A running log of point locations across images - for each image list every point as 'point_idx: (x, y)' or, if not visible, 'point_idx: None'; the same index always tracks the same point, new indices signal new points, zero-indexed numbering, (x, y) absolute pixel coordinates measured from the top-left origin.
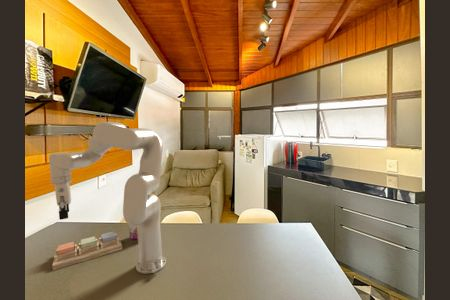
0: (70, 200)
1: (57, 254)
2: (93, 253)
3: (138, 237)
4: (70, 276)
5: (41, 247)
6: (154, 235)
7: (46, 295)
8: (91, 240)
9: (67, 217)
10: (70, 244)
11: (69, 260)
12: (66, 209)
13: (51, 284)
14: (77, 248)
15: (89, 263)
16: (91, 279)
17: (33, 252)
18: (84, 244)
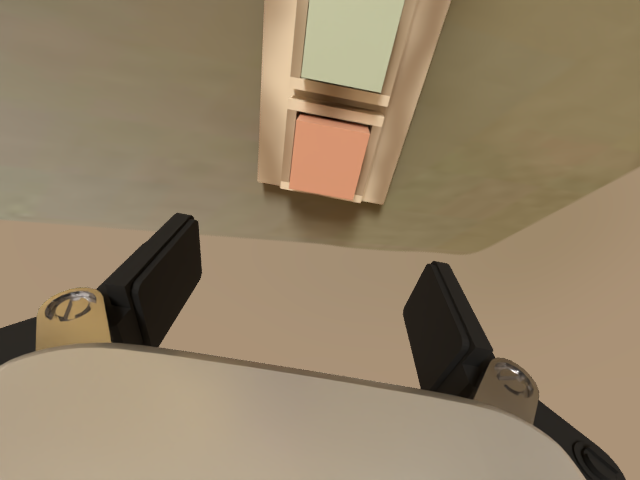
0: (421, 454)
1: None
2: (433, 30)
3: None
4: (490, 158)
5: (134, 201)
6: None
7: (523, 228)
8: (374, 14)
9: (447, 271)
10: (325, 141)
11: (394, 148)
12: (530, 377)
13: (474, 211)
14: (291, 92)
15: (466, 69)
16: (612, 98)
17: None
18: (384, 72)
